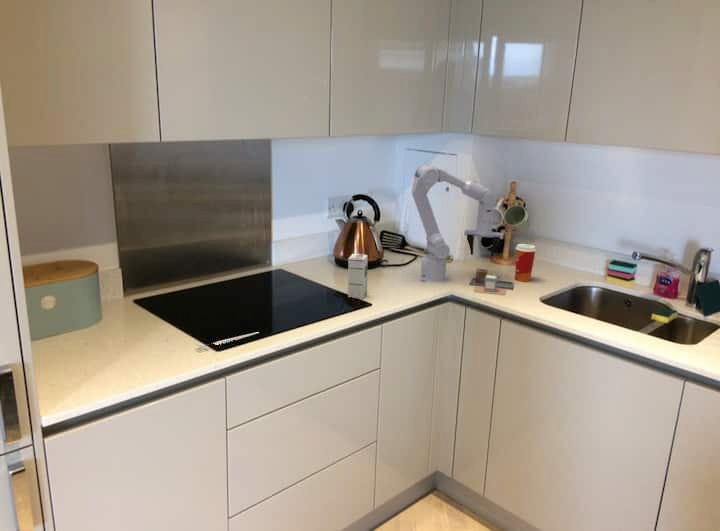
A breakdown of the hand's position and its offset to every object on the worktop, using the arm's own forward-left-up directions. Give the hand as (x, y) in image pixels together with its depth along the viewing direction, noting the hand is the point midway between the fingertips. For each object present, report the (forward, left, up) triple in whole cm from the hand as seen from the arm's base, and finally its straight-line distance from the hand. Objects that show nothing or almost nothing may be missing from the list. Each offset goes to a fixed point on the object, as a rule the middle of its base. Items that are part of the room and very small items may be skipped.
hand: (481, 255), depth 229 cm
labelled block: (+5, -16, -9) cm, 19 cm away
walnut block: (+1, -8, -9) cm, 12 cm away
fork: (-62, -87, -10) cm, 107 cm away
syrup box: (-39, -37, -10) cm, 55 cm away
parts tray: (+5, -8, -9) cm, 13 cm away
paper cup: (+16, +3, -10) cm, 19 cm away
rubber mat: (+5, -16, -9) cm, 19 cm away
